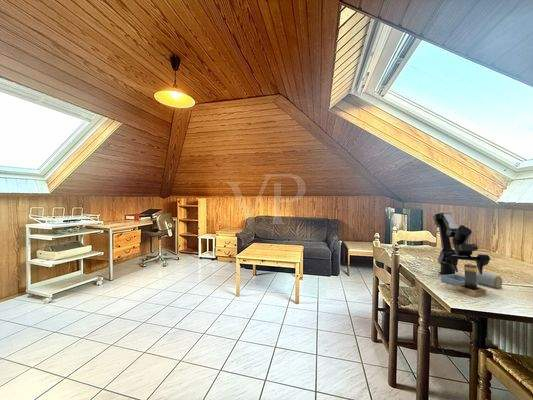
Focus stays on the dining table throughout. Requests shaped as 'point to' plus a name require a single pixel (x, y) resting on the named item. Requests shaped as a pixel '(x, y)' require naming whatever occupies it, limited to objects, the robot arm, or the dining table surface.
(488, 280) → the grey cylinder
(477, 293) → the brown wooden square box
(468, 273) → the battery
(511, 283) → the dining table surface
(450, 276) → the tray
